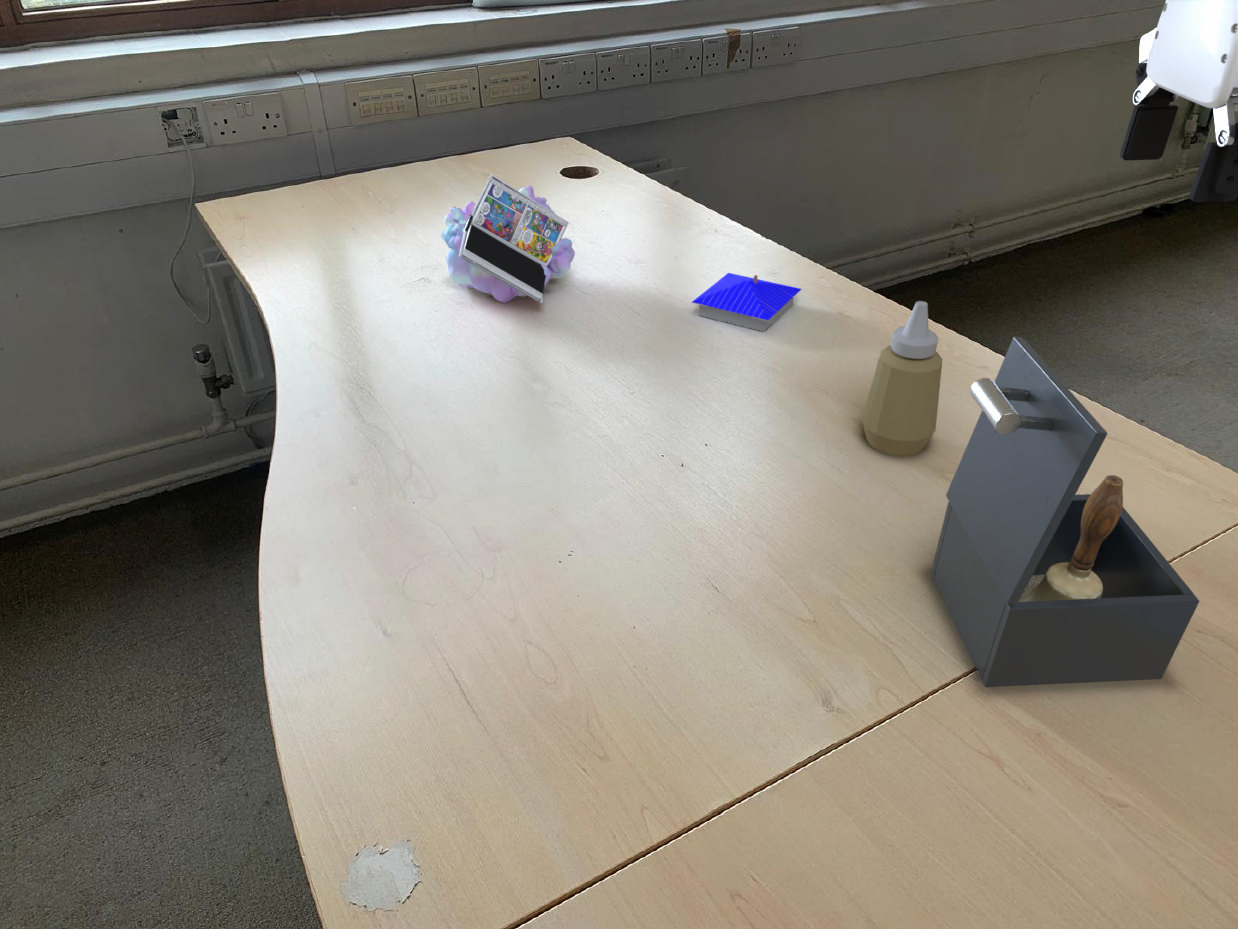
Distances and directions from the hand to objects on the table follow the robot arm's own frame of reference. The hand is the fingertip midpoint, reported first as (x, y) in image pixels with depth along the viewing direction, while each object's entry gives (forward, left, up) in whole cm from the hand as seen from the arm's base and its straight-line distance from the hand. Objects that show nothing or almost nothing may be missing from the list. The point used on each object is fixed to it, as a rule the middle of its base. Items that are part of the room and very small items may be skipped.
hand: (1173, 178), depth 67 cm
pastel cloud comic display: (+56, -67, -36) cm, 95 cm away
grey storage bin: (+6, +11, -36) cm, 38 cm away
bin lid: (+12, +11, -18) cm, 24 cm away
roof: (+21, -55, -36) cm, 69 cm away
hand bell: (+4, +11, -36) cm, 38 cm away
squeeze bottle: (+10, -18, -36) cm, 42 cm away
